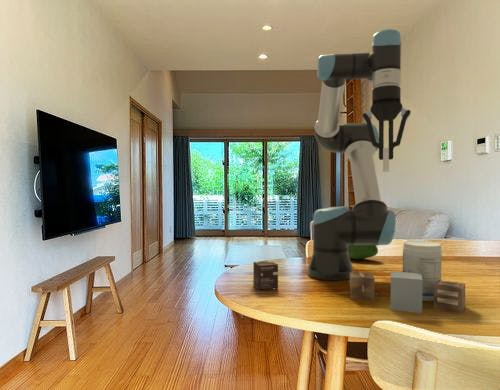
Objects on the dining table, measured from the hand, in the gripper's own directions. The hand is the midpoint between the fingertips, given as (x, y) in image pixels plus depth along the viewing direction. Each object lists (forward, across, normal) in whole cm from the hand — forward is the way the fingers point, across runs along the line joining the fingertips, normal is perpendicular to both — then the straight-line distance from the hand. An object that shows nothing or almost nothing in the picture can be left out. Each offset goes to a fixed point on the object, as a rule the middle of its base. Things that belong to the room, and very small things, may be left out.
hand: (386, 171), depth 104 cm
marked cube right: (+35, +15, -9) cm, 39 cm away
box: (+35, -34, -7) cm, 49 cm away
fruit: (+35, -11, +48) cm, 60 cm away
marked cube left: (+35, -6, -8) cm, 36 cm away
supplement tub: (+35, +9, -1) cm, 36 cm away
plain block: (+35, +5, -12) cm, 37 cm away
